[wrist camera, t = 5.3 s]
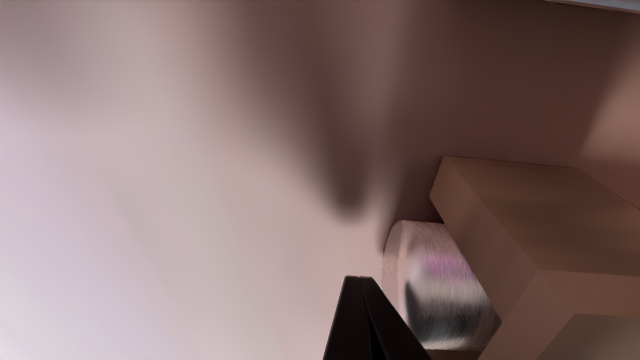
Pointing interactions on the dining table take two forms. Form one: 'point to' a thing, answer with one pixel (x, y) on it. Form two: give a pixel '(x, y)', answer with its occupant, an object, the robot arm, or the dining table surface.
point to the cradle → (606, 4)
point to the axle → (436, 288)
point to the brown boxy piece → (545, 259)
